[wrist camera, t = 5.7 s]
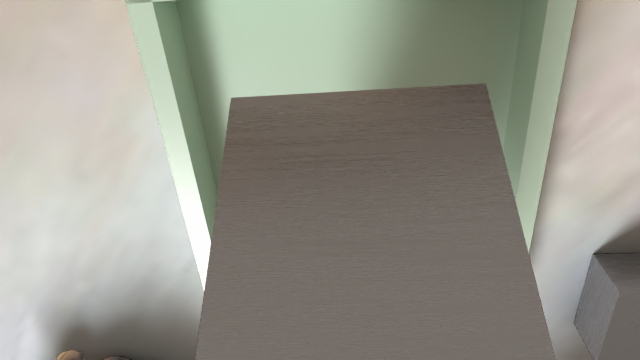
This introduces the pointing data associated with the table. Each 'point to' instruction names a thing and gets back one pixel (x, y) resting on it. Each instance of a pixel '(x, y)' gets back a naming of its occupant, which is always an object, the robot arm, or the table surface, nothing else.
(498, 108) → the tray
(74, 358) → the brake caliper
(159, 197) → the table surface
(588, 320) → the stud mount
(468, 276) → the strut
